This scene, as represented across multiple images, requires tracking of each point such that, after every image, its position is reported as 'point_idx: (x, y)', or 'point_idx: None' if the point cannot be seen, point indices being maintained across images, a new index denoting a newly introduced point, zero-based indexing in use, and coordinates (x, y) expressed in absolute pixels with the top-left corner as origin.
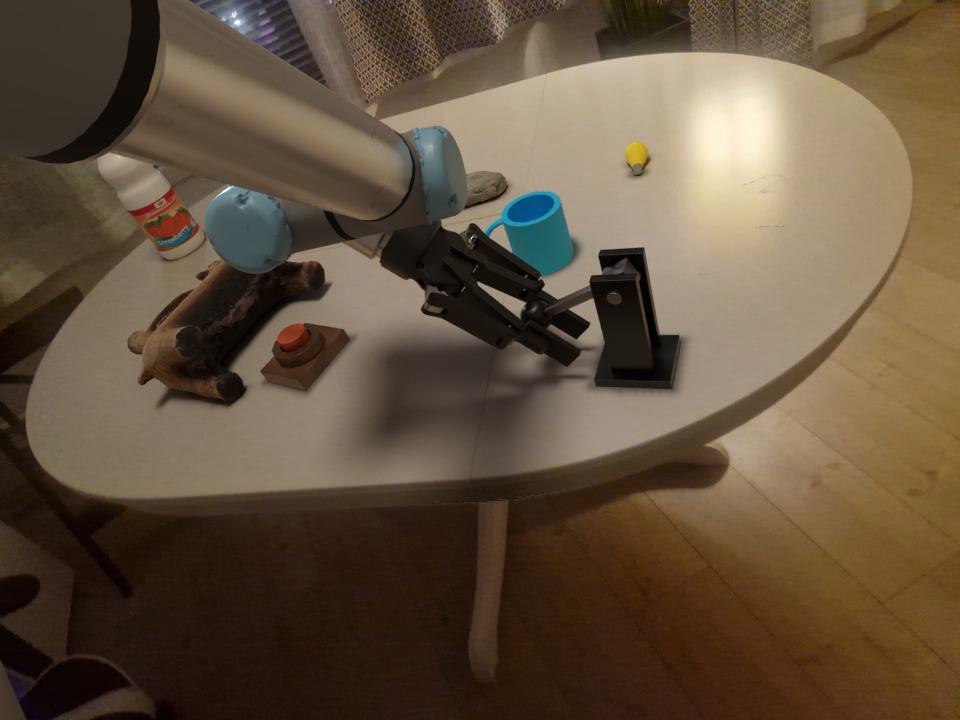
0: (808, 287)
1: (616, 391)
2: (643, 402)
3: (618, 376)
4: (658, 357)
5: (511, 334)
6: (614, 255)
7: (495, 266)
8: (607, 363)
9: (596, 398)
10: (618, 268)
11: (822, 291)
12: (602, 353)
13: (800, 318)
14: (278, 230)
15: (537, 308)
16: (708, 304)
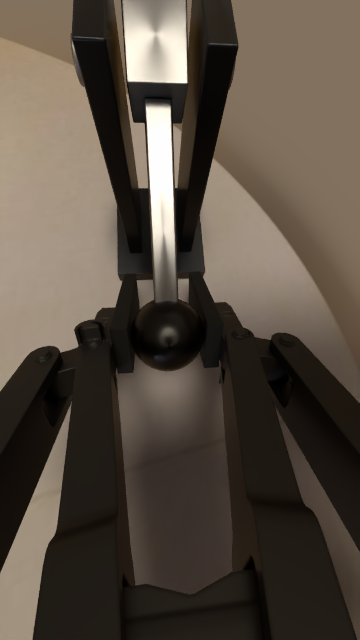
0: (28, 91)
1: (205, 253)
2: (217, 222)
3: (195, 243)
4: None
5: (290, 336)
6: (106, 5)
7: (78, 475)
8: None
9: (220, 273)
10: (159, 10)
11: (37, 81)
12: None
13: (80, 98)
14: None
15: (180, 312)
16: (48, 177)
